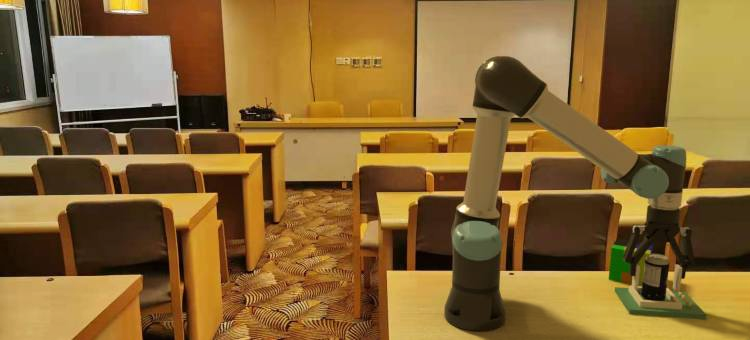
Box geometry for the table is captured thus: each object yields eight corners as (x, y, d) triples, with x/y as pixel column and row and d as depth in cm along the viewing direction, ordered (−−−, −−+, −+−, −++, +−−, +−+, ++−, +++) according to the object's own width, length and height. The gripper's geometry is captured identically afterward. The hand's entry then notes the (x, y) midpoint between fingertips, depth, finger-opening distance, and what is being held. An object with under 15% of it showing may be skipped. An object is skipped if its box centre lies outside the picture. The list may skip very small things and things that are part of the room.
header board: (629, 313, 136) (630, 303, 136) (614, 291, 150) (615, 282, 149) (706, 319, 133) (707, 309, 133) (683, 295, 147) (684, 286, 146)
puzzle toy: (649, 275, 161) (653, 244, 159) (646, 287, 153) (649, 254, 151) (614, 269, 166) (616, 238, 164) (608, 280, 158) (611, 247, 156)
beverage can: (667, 305, 138) (673, 261, 136) (644, 303, 139) (649, 259, 137) (661, 296, 144) (665, 253, 141) (638, 294, 145) (642, 252, 142)
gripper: (622, 208, 135) (614, 291, 139) (717, 212, 131) (707, 297, 135) (614, 201, 142) (607, 280, 146) (704, 204, 138) (694, 285, 143)
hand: (655, 288), depth 141 cm, fingers open, 9 cm apart
